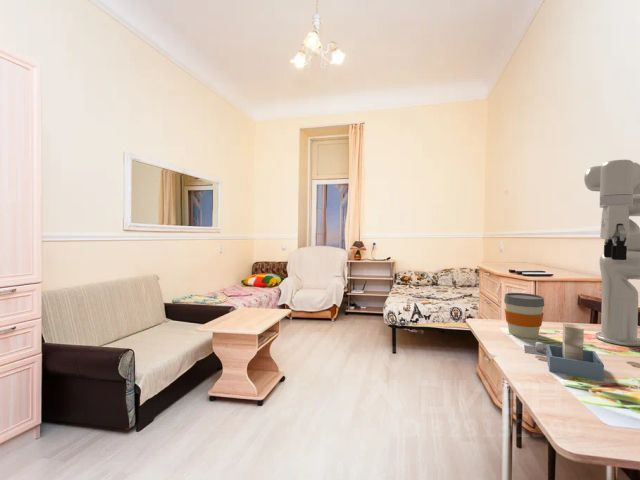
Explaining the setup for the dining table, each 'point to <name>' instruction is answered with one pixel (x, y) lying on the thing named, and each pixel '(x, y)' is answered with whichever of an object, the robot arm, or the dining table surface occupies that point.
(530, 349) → the stud plate
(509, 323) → the reusable coffee cup
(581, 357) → the strut
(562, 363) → the bin
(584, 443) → the dining table surface
